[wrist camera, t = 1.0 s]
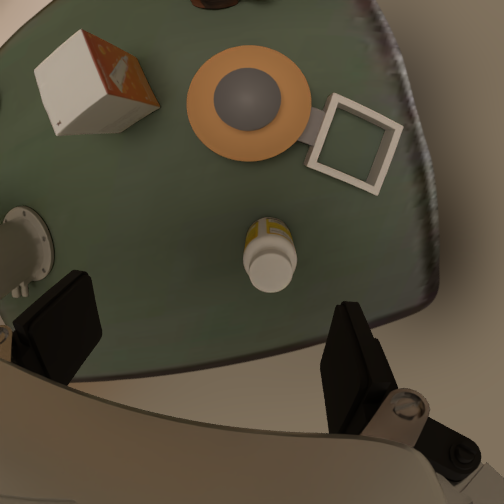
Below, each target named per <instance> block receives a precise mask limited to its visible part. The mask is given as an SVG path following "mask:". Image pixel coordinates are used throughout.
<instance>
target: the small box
mask: <svg viewBox="0 0 504 504" xmlns="http://www.w3.org/2000/svg"><path fill="white" fill-rule="evenodd" d="M34 73H35V77H36V80H37V84H38V87H39V90H40V94H41V98H42V101H43V104H44V107H45V109H46V111H47V114H48V116H49V119H50V121H51V124H52V126H53V129H54V131H55V134H56V136H63V135H77V134H103V133H121V132H122V131H124V130H125V129H127V128H128V127H130V126H131V125H133V124H134V123H136V122H137V121H139V120H141V119H142V118H144V117H145V116H147V115H149V114H150V113H152V112H154V111H155V110H157V109H159V108H160V105H159V103H158V101H157V99H156V98H155V96H154V94H153V92H152V90H151V88H150V85H149V84H148V81H147V79H146V77H145V75H144V73H143V71H142V69H141V66H140V64H139V62H138V60H137V58H136V57H134V56H132V55H131V54H129V53H127V52H125V51H123V50H121V49H120V48H118V47H116V46H114V45H112V44H110V43H108V42H106V41H104V40H102V39H100V38H99V37H97V36H95V35H93V34H91V33H88V32H86V31H84V30H82V29H80V30H79V31H77V32H76V33H75V34H74V35H72V36H71V37H70V38H69V39H68V40H66V41H65V42H64V43H63V44H62V45H61V46H59V47H58V48H57V49H56V50H55V51H54V52H53V53H52V54H51V55H49V56H48V57H47V58H46V59H45V60H44V61H43V62H42V63H41V64H40V65H39V66H38V67H37V68H36V69H35V70H34Z"/></svg>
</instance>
